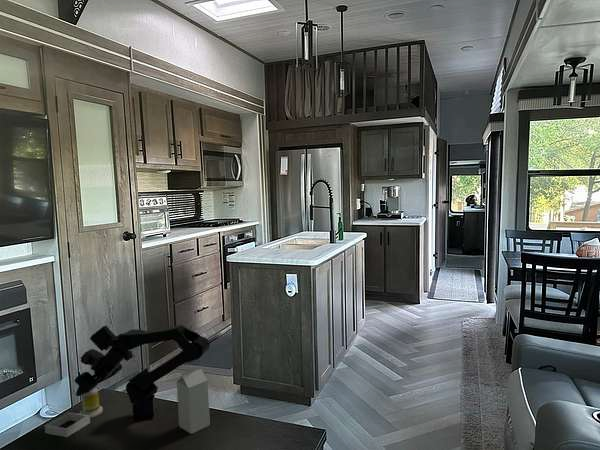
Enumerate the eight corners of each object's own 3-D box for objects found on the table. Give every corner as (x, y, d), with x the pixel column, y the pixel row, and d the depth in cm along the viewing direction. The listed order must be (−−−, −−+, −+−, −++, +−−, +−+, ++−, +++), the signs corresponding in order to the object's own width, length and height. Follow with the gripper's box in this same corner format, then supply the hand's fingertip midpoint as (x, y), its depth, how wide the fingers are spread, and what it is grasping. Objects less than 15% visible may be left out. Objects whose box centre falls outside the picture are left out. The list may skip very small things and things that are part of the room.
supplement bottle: (102, 408, 147) (101, 381, 147) (88, 415, 143) (86, 387, 142) (93, 405, 150) (91, 379, 150) (79, 412, 145) (77, 385, 145)
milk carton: (210, 425, 134) (207, 368, 134) (191, 434, 129) (187, 375, 129) (198, 418, 139) (194, 363, 139) (179, 427, 134) (175, 369, 133)
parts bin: (69, 419, 143) (69, 412, 143) (90, 422, 140) (89, 415, 140) (45, 433, 134) (44, 425, 134) (66, 437, 131) (66, 429, 131)
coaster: (105, 407, 151) (105, 404, 151) (98, 417, 143) (98, 414, 143) (84, 409, 150) (83, 406, 150) (75, 419, 142) (75, 416, 142)
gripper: (112, 334, 154) (88, 363, 156) (77, 352, 135) (50, 384, 138) (133, 355, 153) (108, 384, 155) (101, 376, 134) (73, 408, 137)
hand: (85, 389), depth 146 cm, fingers open, 9 cm apart
